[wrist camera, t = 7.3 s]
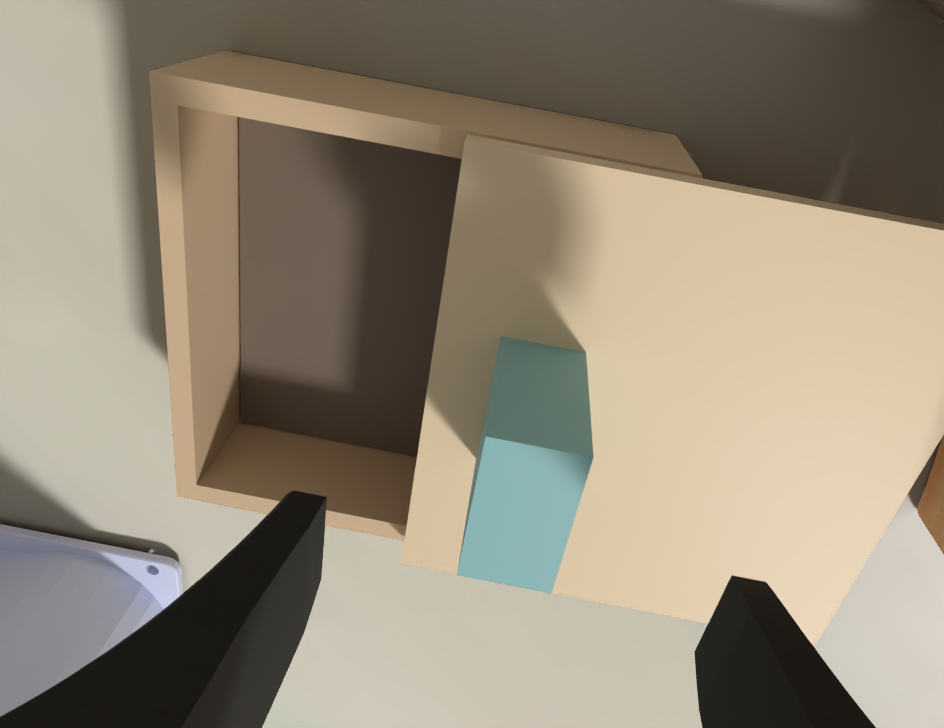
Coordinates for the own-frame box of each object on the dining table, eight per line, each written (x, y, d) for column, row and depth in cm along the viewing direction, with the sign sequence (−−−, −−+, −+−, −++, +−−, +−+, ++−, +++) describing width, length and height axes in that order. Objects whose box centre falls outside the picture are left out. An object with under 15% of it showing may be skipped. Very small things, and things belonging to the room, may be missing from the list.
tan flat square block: (404, 548, 21) (369, 687, 17) (468, 134, 15) (434, 198, 11) (809, 627, 21) (868, 785, 17) (1037, 241, 15) (1215, 346, 11)
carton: (230, 421, 25) (177, 496, 21) (224, 50, 19) (149, 71, 15) (571, 487, 25) (573, 573, 21) (675, 134, 19) (702, 174, 15)
